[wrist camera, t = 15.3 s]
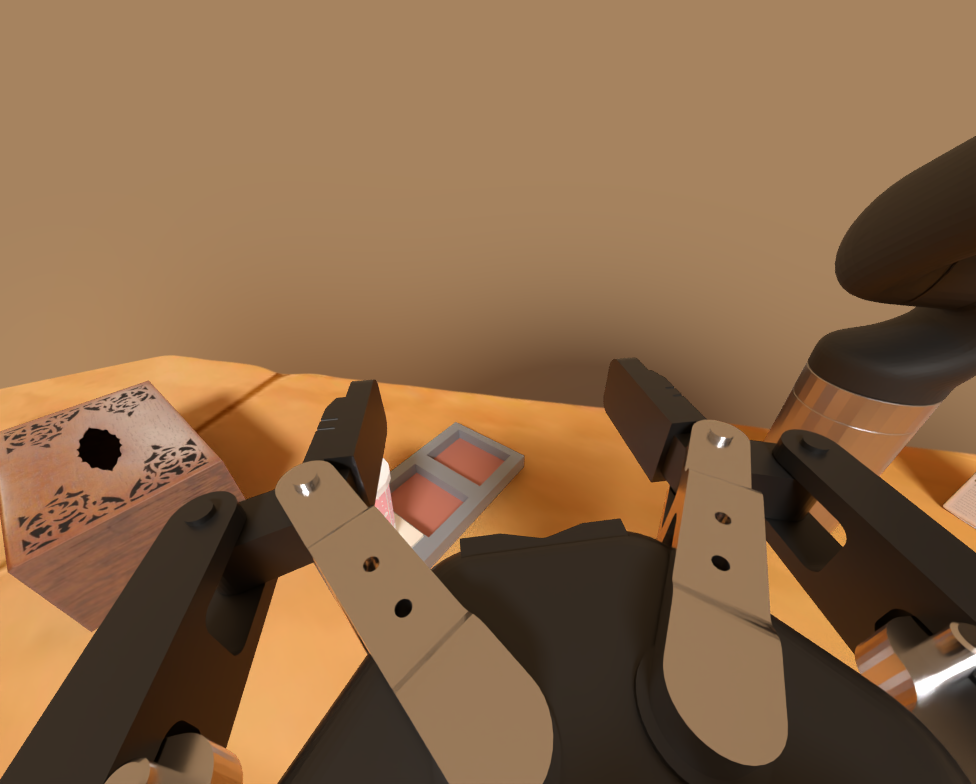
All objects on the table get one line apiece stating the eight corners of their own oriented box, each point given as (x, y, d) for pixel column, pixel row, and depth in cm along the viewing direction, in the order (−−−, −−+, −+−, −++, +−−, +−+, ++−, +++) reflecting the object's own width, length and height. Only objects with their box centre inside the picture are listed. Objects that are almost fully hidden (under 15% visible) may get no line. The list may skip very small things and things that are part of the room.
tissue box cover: (259, 523, 41) (222, 460, 36) (93, 633, 32) (7, 572, 26) (184, 435, 55) (148, 380, 49) (52, 495, 45) (-11, 435, 40)
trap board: (456, 432, 54) (455, 420, 52) (523, 466, 47) (524, 454, 46) (316, 543, 39) (309, 530, 37) (387, 614, 32) (383, 602, 31)
